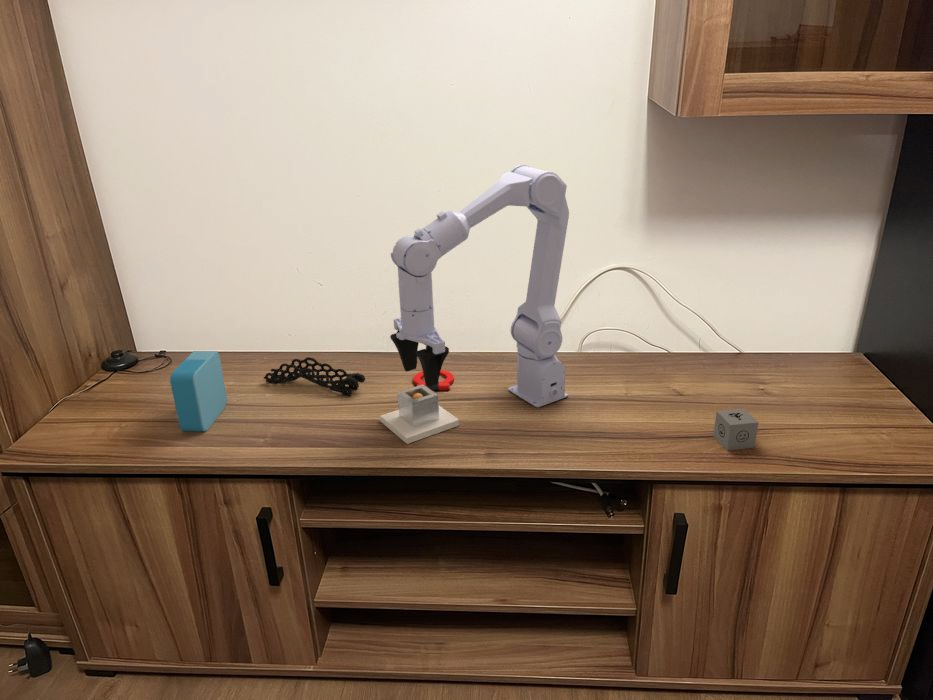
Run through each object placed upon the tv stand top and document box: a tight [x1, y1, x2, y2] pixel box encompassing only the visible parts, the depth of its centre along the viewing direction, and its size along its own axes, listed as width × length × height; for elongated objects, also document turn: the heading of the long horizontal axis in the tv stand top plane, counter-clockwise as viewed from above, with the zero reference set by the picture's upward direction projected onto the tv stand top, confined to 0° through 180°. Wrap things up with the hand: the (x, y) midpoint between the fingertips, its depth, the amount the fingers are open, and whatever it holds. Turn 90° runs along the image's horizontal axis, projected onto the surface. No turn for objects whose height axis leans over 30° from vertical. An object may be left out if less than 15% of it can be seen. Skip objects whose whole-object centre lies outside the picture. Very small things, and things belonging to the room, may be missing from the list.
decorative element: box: [263, 356, 366, 398], centre depth 147 cm, size 22×5×6 cm, turn 72°
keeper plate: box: [379, 393, 460, 445], centre depth 132 cm, size 10×11×6 cm
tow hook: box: [413, 369, 455, 392], centre depth 147 cm, size 8×13×9 cm
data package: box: [169, 350, 228, 432], centre depth 135 cm, size 12×4×12 cm, turn 177°
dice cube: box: [712, 408, 759, 451], centre depth 124 cm, size 5×5×5 cm
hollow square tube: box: [397, 384, 440, 428], centre depth 132 cm, size 5×5×5 cm
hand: (420, 377), depth 130 cm, fingers open, 7 cm apart
